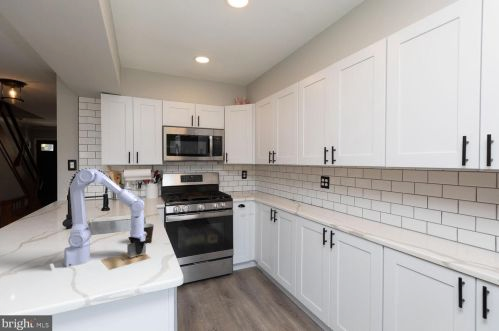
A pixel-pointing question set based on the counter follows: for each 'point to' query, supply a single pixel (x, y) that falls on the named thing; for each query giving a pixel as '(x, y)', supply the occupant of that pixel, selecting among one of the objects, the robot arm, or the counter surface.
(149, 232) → the coffee mug
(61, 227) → the counter surface
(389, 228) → the counter surface
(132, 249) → the sanding block
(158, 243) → the counter surface
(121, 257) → the oak board
